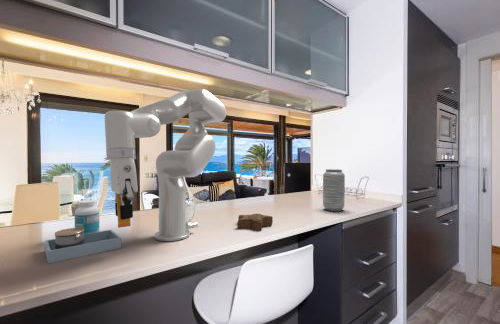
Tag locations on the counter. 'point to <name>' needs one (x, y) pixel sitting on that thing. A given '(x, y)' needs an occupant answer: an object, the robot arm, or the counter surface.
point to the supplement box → (120, 222)
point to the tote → (84, 246)
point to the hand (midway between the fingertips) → (124, 216)
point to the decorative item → (254, 221)
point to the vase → (333, 190)
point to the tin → (69, 237)
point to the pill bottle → (87, 217)
